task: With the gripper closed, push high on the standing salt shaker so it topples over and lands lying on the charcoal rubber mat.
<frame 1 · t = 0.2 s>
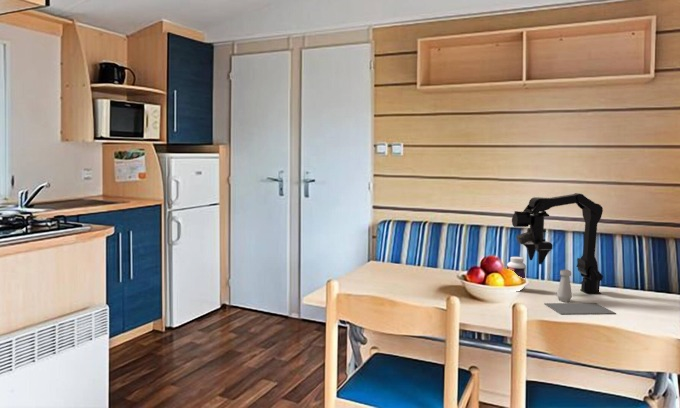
hand: (535, 262, 239), 14 cm above the table, fingers open, 9 cm apart
pill bottle: (515, 289, 246), on the table
mat: (578, 309, 216), on the table
salt shaker: (563, 301, 228), on the table
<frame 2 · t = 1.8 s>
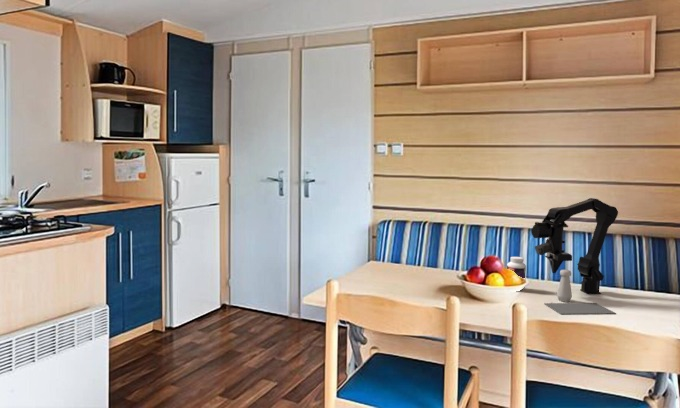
hand: (554, 273, 237), 9 cm above the table, fingers closed
nothing on the table moved.
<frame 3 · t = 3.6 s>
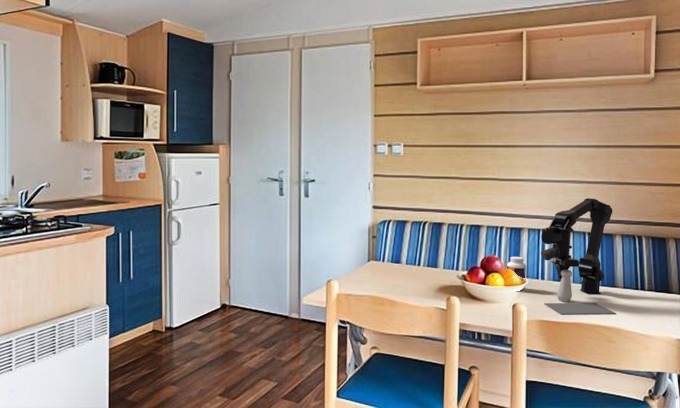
hand: (560, 279, 231), 8 cm above the table, fingers closed
salt shaker: (563, 300, 228), on the table, touching gripper
everything else where it was.
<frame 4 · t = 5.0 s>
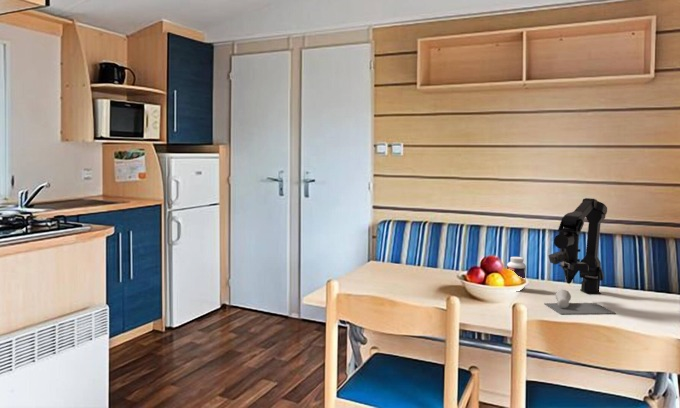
hand: (568, 283, 225), 8 cm above the table, fingers closed
salt shaker: (563, 294, 226), point 3 cm above the table, touching mat
everything else where it was.
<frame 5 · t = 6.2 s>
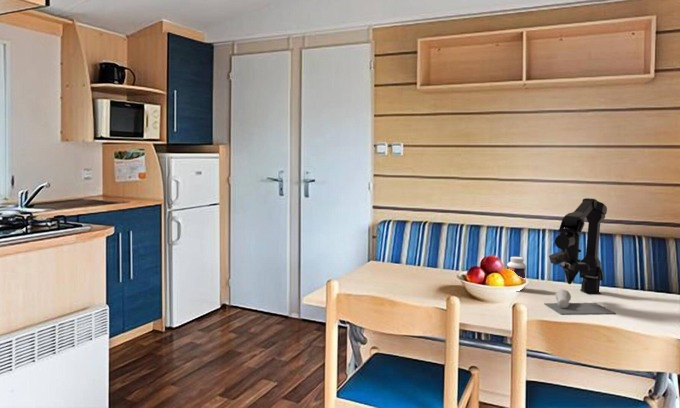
hand: (569, 283, 224), 8 cm above the table, fingers closed
nothing on the table moved.
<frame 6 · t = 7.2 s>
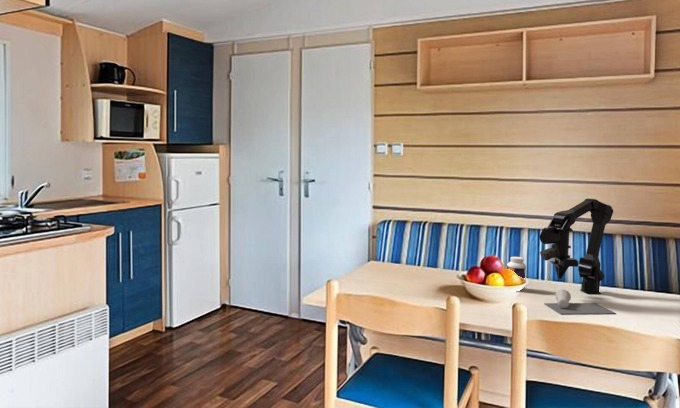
hand: (559, 278, 232), 8 cm above the table, fingers closed
nothing on the table moved.
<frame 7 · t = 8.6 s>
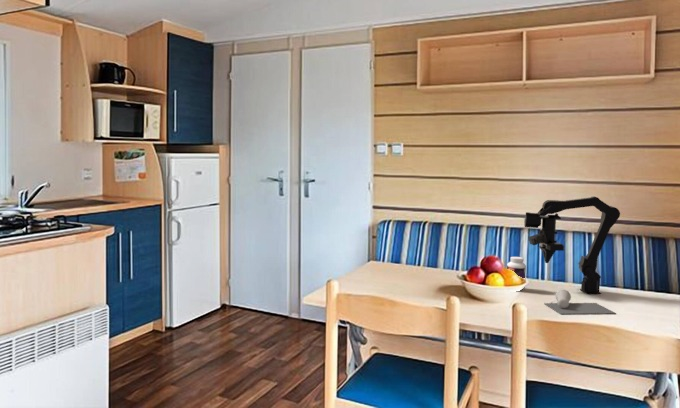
hand: (546, 262, 246), 12 cm above the table, fingers closed
nothing on the table moved.
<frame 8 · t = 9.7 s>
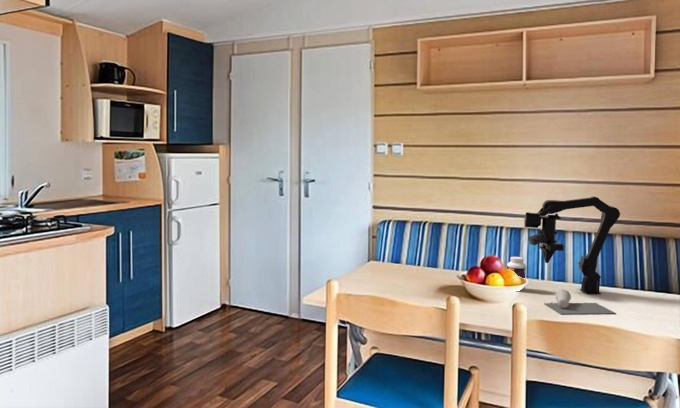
hand: (546, 262, 246), 12 cm above the table, fingers closed
nothing on the table moved.
at the end: salt shaker tilted 92°; salt shaker inside the target area (8.4 cm from its centre), point 2.9 cm above the table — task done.
